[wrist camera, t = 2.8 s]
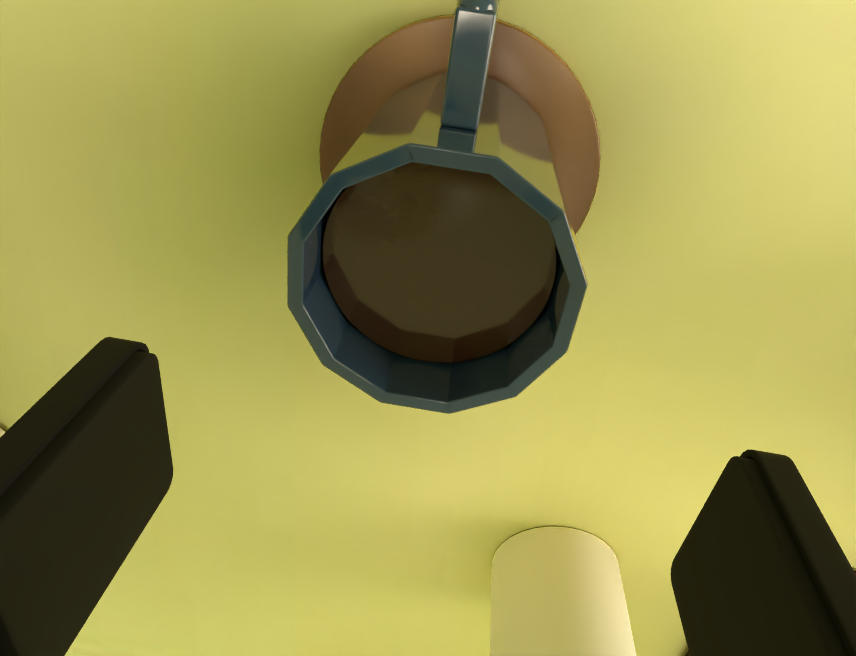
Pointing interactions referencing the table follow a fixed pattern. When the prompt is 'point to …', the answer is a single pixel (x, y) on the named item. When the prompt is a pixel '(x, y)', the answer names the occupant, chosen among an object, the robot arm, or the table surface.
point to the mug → (441, 242)
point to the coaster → (509, 63)
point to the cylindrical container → (558, 596)
